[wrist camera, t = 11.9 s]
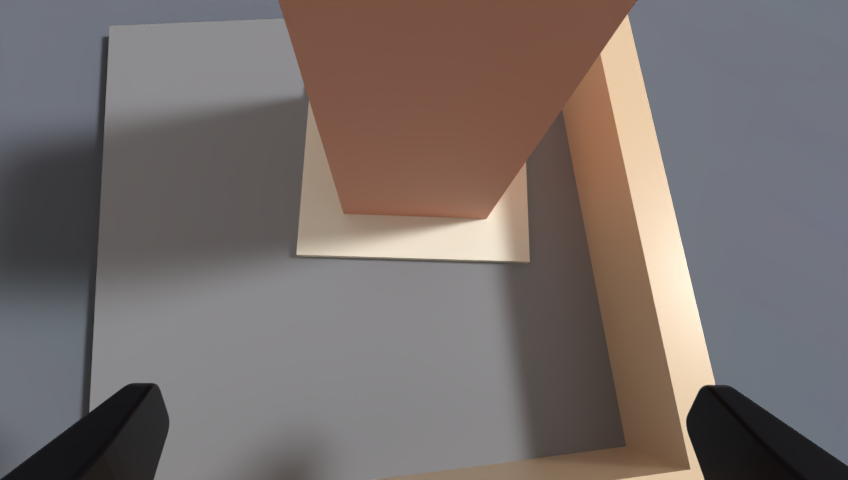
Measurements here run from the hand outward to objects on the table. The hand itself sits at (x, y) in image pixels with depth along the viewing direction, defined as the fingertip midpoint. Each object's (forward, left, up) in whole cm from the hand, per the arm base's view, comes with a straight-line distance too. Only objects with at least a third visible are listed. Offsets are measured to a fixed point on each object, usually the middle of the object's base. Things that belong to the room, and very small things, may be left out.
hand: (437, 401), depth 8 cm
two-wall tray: (+5, +1, -9) cm, 10 cm away
